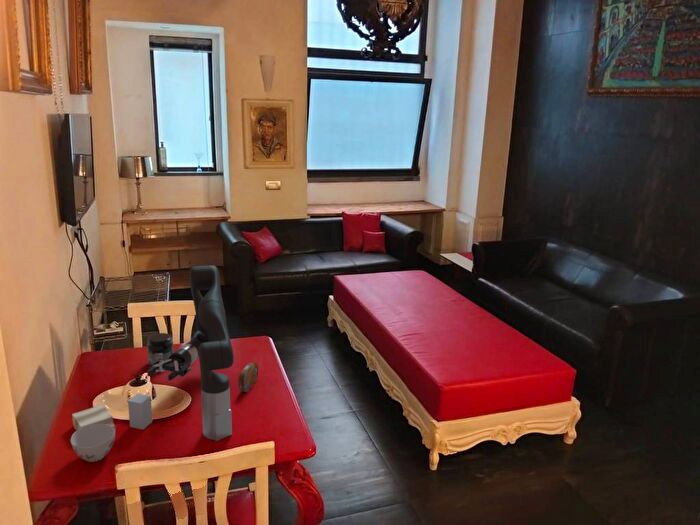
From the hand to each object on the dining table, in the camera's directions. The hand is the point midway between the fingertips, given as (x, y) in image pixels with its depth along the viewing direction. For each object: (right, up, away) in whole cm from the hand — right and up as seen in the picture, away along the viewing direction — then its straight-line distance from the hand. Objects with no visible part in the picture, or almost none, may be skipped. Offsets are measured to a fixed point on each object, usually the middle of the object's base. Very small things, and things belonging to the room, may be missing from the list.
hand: (158, 376), depth 194 cm
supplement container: (-12, -2, +37) cm, 40 cm away
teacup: (-10, -20, -24) cm, 33 cm away
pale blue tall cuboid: (-3, -15, -7) cm, 17 cm away
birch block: (-19, -16, -10) cm, 26 cm away
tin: (+29, -9, +21) cm, 36 cm away
